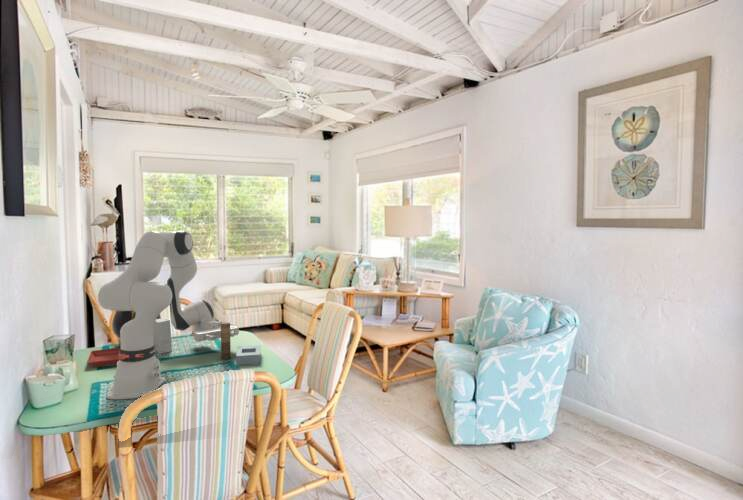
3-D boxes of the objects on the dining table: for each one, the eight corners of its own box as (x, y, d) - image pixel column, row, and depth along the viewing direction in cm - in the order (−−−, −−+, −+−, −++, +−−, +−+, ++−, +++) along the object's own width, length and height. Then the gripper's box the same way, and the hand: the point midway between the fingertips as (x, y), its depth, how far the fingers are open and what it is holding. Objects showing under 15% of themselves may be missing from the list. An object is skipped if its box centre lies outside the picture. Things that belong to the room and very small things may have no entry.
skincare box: (172, 351, 212) (171, 320, 211) (158, 354, 208) (157, 322, 207) (165, 347, 218) (165, 317, 217) (152, 350, 214) (151, 319, 213)
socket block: (260, 363, 196) (260, 354, 196) (236, 365, 194) (236, 356, 194) (260, 353, 210) (260, 345, 210) (238, 355, 208) (237, 346, 207)
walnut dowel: (230, 359, 201) (229, 324, 200) (220, 360, 200) (220, 324, 199) (230, 356, 205) (230, 322, 204) (221, 357, 204) (221, 322, 203)
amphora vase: (141, 352, 211) (140, 292, 209) (102, 348, 215) (99, 290, 213) (171, 339, 232) (169, 285, 230) (134, 336, 236) (132, 283, 234)
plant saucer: (91, 357, 203) (91, 350, 203) (136, 352, 211) (136, 345, 211) (87, 370, 187) (86, 362, 187) (136, 364, 195) (136, 356, 195)
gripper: (188, 327, 207) (199, 333, 197) (231, 321, 221) (243, 326, 210) (188, 340, 208) (199, 347, 197) (231, 333, 221) (243, 339, 211)
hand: (222, 336), depth 204 cm, fingers open, 8 cm apart
